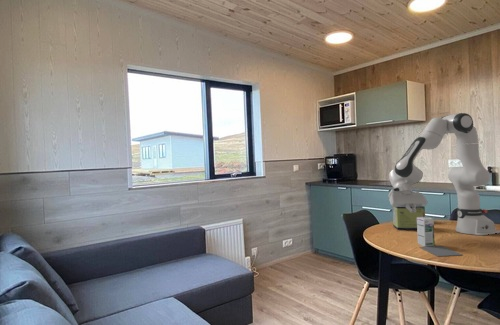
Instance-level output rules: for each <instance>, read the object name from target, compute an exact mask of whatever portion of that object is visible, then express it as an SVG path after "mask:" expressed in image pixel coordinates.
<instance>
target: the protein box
mask: <svg viewBox="0 0 500 325" xmlns="http://www.w3.org/2000/svg"><path fill="white" fill-rule="evenodd" d="M411 208H412V207H411ZM415 209H416V212H411V213H410V211H409V210H408V209H407V208H406V207H393V206H392V216H393V217H392V218H393V219H392V221H393V224H392V225H393V226H392V227H393V228H395V230H397V231H417V217H423V206H417V207H416V208H415Z"/></svg>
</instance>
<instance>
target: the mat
mask: <svg viewBox="0 0 500 325" xmlns="http://www.w3.org/2000/svg"><path fill="white" fill-rule="evenodd" d="M419 249H421V250H423V251H426V252H428V253H430V254H432V255H433V256H435V257H454V256H455V257H457V256H463V254H462V253H460V252H457V251H455V250H453V249H450V248H449V247H446V246H443V245H435V246H426V247H425V246H419Z"/></svg>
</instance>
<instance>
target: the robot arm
mask: <svg viewBox="0 0 500 325" xmlns="http://www.w3.org/2000/svg"><path fill="white" fill-rule="evenodd" d="M447 134H454V135H455V138H456V139H455V145H456V146H455V148H456V149H455V150H456V152H455V153H456V158H457V160H459V161H460V163H461V165H462V166H457V167H452V168H450V169H449V171H448V173H447V178H448V181H450V182H451V183H452V184H453V186H454V189H455V192H456V196H457V208H456V214H457V222H456V225H455V226H456V227H455V229H454V230H455V231H456V232H457V233H461V234H465V235H466V234H467V235H475V236H487V235H488V234H489V235H496V234H495V233H497V234H500V230H499V229H497V228H496V224H495V222H494V221H493V220H492V219H490V218H489V217H487V216H486V215H485V214H487V213H488V209H484V208H483V209H482V208H481V196H480V194H479V193H478V192H477V190H475V189H476V188H474V187H479V186H480V187H481V186H486V185H487V184H488V183H490V180H491V173H490V172H489V171H488V170H487V169H486V168H485V166H484V164H483V162H482V161H481V157H480V151H479V149H480V148H479V135H478V131H477V128H476V127H475V126H474V120H473V117H472V116H471V115H470V114H469V113H466V112H460V113H453V114H450V115H446V116H441V117H433V118H431V120H429V122H428V123H427V124H426V126H425V128H424V129H423V131H422V133H421V134H420V136H418V137H416V138H415V140H413V141H412V143H411V144H410V146H409V147H408V148H407V150H406V151H405V153H404V155H403V156H402V157H401V158H400V159H399V160H398V161H397V162H396V163H395V165H394V168H393V169H392V170H391V171H390V172H389V173H388V178H389V181H390V183H391V186H392V188H391V190H390V191H389V193H388V195H387V197H388V198H389V199H388V201H389V203H390V206H391V207H392V208H393V207H406V208H407V209H408V210H409V211H410V213H411V212H416V209H415V208H416V207H417V206H424V207H426V206H427V204H428V200H427V198H426V197H425V196H424V194H423V193H422V192H420V191H413V189H412V187H411V186H413V185H416V184H418V183H420V182H421V180H422V179H423V177H424V173H423V171H422V170H421V169H420V168H418V167H417V166H416V165H415V164H414V161H415V159H416V158H417V157H418V155H419V153H420V152H421V151H422V150H430V151H431V150H434V149H436V148H438V147H439V146H440V144H441V142H442V141H443V139H444V137H445V135H447ZM411 207H412V208H411Z"/></svg>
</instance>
